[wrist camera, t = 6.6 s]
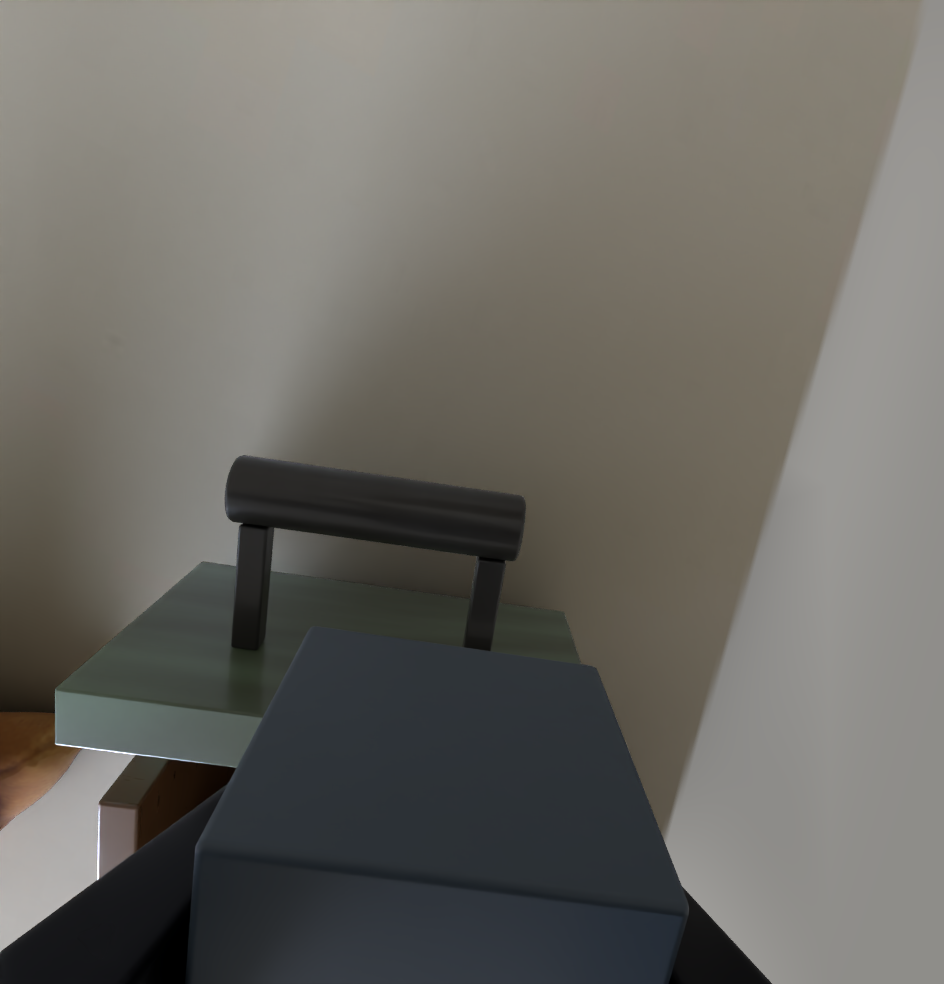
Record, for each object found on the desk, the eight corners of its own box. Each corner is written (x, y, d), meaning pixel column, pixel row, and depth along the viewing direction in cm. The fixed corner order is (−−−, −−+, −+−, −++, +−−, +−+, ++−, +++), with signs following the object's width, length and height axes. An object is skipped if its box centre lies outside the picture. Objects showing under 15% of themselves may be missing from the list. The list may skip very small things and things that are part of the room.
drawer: (210, 413, 18) (53, 464, 11) (592, 470, 18) (663, 551, 11) (181, 918, 22) (54, 1178, 15) (496, 955, 22) (507, 1225, 15)
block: (598, 664, 9) (696, 908, 5) (543, 899, 10) (594, 1254, 6) (310, 622, 9) (191, 845, 5) (282, 865, 10) (164, 1212, 6)
